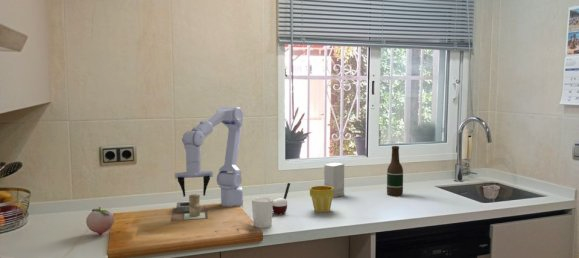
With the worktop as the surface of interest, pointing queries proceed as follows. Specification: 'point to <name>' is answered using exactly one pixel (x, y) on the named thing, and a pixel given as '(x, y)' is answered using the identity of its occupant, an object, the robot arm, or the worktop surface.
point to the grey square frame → (182, 207)
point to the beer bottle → (395, 175)
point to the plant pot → (322, 197)
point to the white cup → (262, 212)
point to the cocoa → (281, 203)
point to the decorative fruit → (100, 221)
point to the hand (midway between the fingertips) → (194, 195)
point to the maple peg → (194, 205)
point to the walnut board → (180, 216)
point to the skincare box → (334, 177)
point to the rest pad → (187, 216)
